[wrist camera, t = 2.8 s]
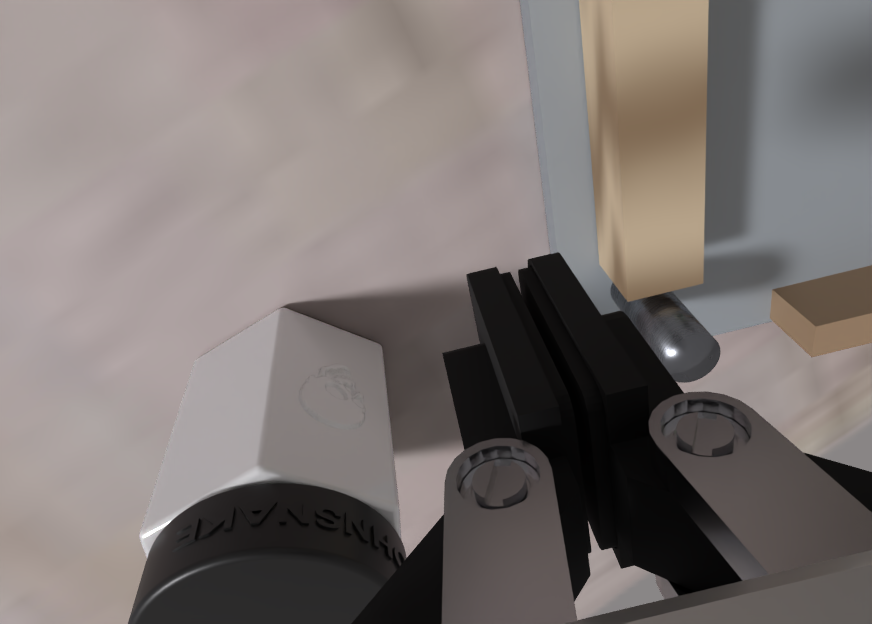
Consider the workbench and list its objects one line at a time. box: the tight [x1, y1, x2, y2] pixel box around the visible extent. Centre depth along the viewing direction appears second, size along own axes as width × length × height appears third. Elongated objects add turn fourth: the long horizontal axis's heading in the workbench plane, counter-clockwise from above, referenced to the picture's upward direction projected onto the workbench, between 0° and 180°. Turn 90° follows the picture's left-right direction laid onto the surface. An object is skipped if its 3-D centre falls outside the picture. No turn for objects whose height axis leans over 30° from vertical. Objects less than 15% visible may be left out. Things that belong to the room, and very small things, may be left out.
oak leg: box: [579, 0, 709, 302], centre depth 22 cm, size 12×3×3 cm, turn 11°
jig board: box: [520, 0, 872, 357], centre depth 23 cm, size 18×20×4 cm
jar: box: [128, 308, 406, 624], centre depth 24 cm, size 9×8×12 cm
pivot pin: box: [610, 282, 720, 382], centre depth 25 cm, size 2×2×5 cm
